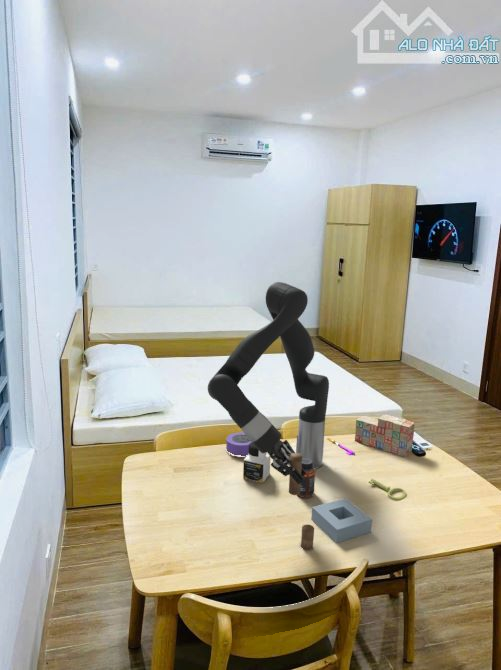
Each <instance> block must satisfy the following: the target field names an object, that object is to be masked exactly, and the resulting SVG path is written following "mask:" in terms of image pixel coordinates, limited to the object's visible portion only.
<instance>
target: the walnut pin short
mask: <svg viewBox="0 0 501 670" xmlns="http://www.w3.org/2000/svg"><path fill="white" fill-rule="evenodd" d="M314 536H315V527H314V526H313V525H311V524H303V525H302V527H301V538H300V539H301V540H300V541H301V542H300V548H301V547H302V548H303V549H302V548H301V549H302V550H304V551H311V550H313V548H314Z"/></svg>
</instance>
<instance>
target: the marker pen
mask: <svg viewBox="0 0 501 670" xmlns="http://www.w3.org/2000/svg"><path fill="white" fill-rule="evenodd" d="M326 440H327V441H330V442H331V443H332V444H336V445H337V446H338V447H339V448H341V449H342V450H344V451H346V453H345V454H346V455H348V456H352V455H353V456H355V454H356V452H355V451H353V450H351V449H350V448H347V447H345V446H344V445H342V444H339V443H337V442H336V440H333V439H331V438H330V437H326Z"/></svg>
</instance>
